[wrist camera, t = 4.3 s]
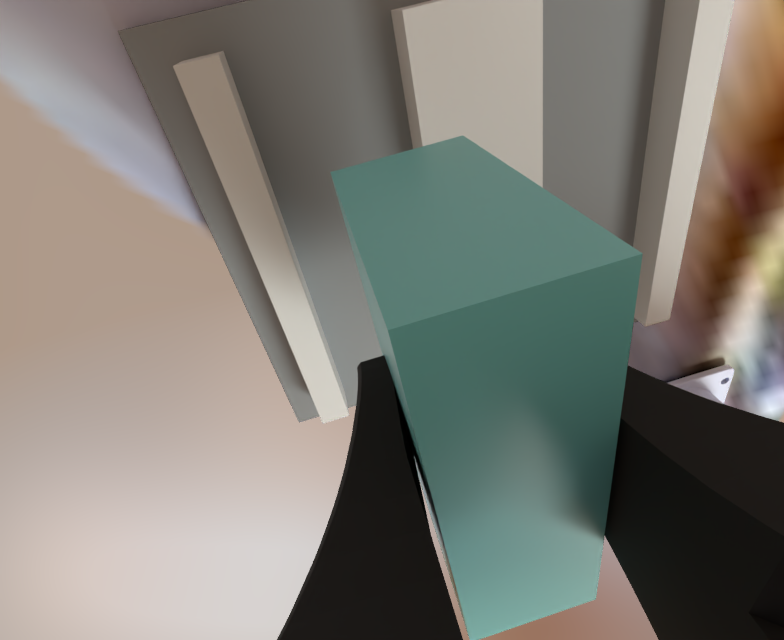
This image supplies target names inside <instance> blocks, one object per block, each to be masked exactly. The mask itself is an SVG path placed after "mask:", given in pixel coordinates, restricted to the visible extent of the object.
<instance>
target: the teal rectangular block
mask: <svg viewBox="0 0 784 640" xmlns="http://www.w3.org/2000/svg"><path fill="white" fill-rule="evenodd" d="M330 173H331V176H332V180H333V183H334V187H335V190H336V194H337V197H338V201H339V204H340V208H341V211H342V215H343V218H344V222H345V225H346V229H347V232H348V236H349V239H350V243H351V246H352V250H353V253H354V257H355V260H356V264H357V267H358V271H359V274H360V278H361V281H362V285H363V288H364V292H365V295H366V299H367V302H368V306H369V309H370V313H371V316H372V320H373V323H374V327H375V330H376V334H377V337H378V341H379V344H380V348H381V351H382V355H384V356H385V359H386V361H387V364H388V367H389V370H390V373H391V376H392V379H393V382H394V386H395V390H396V393H397V397H398V400H399V404H400V407H401V411H402V415H403V418H404V422H405V425H406V429H407V432H408V436H409V440H410V443H411V447H412V450H413V454H414V458H415V463H416V467H417V472H418V477H419V480H420V483H421V487H422V490H423V493H424V496H425V499H426V502H427V505H428V509H429V512H430V515H431V518H432V522H433V525H434V528H435V531H436V534H437V537H438V541H439V544H440V547H441V550H442V553H443V556H444V559H445V563H446V566H447V569H448V572H449V575H450V579H451V582H452V585H453V588H454V591H455V595H456V598H457V601H458V604H459V607H460V610H461V614H462V617H463V619H464V623H465V626H466V629H467V632H468V636H469V639H470V640H479V639H482V638H485V637H488V636H491V635H493V634H497V633H500V632H502V631H505V630H508V629H511V628H514V627H517V626H520V625H523V624H526V623H528V622H531V621H534V620H537V619H540V618H543V617H546V616H549V615H552V614H554V613H557V612H560V611H563V610H566V609H569V608H572V607H575V606H577V605H581V604H584V603H586V602H589V601H592V600H595V599H596V594H597V586H598V579H599V572H600V565H601V557H602V550H603V543H604V535H605V528H606V521H607V513H608V506H609V499H610V491H611V484H612V476H613V469H614V462H615V454H616V447H617V440H618V432H619V425H620V418H621V410H622V403H623V395H624V388H625V381H626V373H627V366H628V359H629V351H630V344H631V337H632V329H633V322H634V314H635V307H636V300H637V292H638V285H639V278H640V270H641V263H642V256H643V253H641V252H640V251H638V250H637V249H635V248H633V247H632V246H630V245H629V244H627V243H626V242H624V241H623V240H621V239H620V238H618V237H617V236H615V235H614V234H612V233H611V232H609V231H608V230H606V229H605V228H603V227H602V226H600V225H599V224H597V223H595V222H594V221H592V220H591V219H589V218H588V217H586V216H585V215H583V214H582V213H580V212H579V211H577V210H576V209H574V208H573V207H571V206H570V205H568V204H567V203H565V202H564V201H562V200H561V199H559V198H557V197H556V196H554V195H553V194H551V193H550V192H548V191H547V190H545V189H544V188H542V187H541V186H539V185H538V184H536V183H535V182H533V181H532V180H530V179H529V178H527V177H526V176H524V175H522V174H521V173H519V172H518V171H516V170H515V169H513V168H512V167H510V166H509V165H507V164H506V163H504V162H503V161H501V160H500V159H498V158H497V157H495V156H494V155H492V154H491V153H489V152H488V151H486V150H484V149H483V148H481V147H480V146H478V145H477V144H475V143H474V142H472V141H471V140H469V139H468V138H466V137H465V136H463V135H462V136H459V137H455V138H451V139H448V140H444V141H440V142H437V143H433V144H430V145H426V146H422V147H419V148H415V149H412V150H408V151H404V152H401V153H397V154H394V155H390V156H386V157H383V158H379V159H376V160H372V161H368V162H365V163H361V164H358V165H354V166H350V167H347V168H343V169H340V170H336V171H332V172H330Z"/></svg>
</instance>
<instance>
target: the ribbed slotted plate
mask: <svg viewBox="0 0 784 640" xmlns="http://www.w3.org/2000/svg"><path fill="white" fill-rule="evenodd" d="M734 1H735V0H247V1H243V2H239V3H235V4H230V5H226V6H222V7H218V8H213V9H209V10H205V11H201V12H197V13H192V14H188V15H184V16H180V17H176V18H171V19H167V20H163V21H159V22H154V23H150V24H146V25H142V26H138V27H133V28H129V29H125V30H121V31H118V33H119V35H120V37H121V39H122V41H123V44H124V46H125V48H126V50H127V52H128V54H129V57H130V59H131V61H132V63H133V65H134V67H135V69H136V72H137V74H138V76H139V78H140V80H141V82H142V85H143V87H144V89H145V91H146V93H147V95H148V98H149V100H150V102H151V104H152V106H153V108H154V110H155V113H156V115H157V117H158V119H159V121H160V123H161V126H162V128H163V130H164V132H165V134H166V136H167V138H168V141H169V143H170V145H171V147H172V149H173V151H174V154H175V156H176V158H177V160H178V162H179V164H180V167H181V169H182V171H183V173H184V175H185V177H186V179H187V182H188V184H189V186H190V188H191V190H192V192H193V195H194V197H195V199H196V201H197V203H198V205H199V208H200V210H201V212H202V214H203V216H204V218H205V220H206V223H207V225H208V227H209V229H210V231H211V233H212V236H213V238H214V240H215V242H216V244H217V246H218V248H219V250H220V253H221V255H222V257H223V259H224V261H225V264H226V266H227V268H228V270H229V272H230V274H231V277H232V279H233V281H234V283H235V285H236V287H237V289H238V292H239V294H240V296H241V298H242V300H243V302H244V305H245V307H246V309H247V311H248V313H249V315H250V318H251V319H252V322H253V324H254V326H255V328H256V330H257V332H258V335H259V337H260V339H261V341H262V343H263V345H264V348H265V350H266V352H267V354H268V356H269V359H270V361H271V363H272V365H273V367H274V369H275V371H276V374H277V376H278V378H279V380H280V382H281V384H282V387H283V389H284V391H285V393H286V395H287V397H288V400H289V402H290V404H291V406H292V408H293V410H294V412H295V414H296V417H297V419H298V421H299V422H302V421H305V420H309V419H312V418H316V417H319V416H320V418H321V421H322V423H326V422H330V421H333V420H336V419H339V418H343V417H346V416H349V412H348V408H349V407H352V406H356V403H357V391H358V372H357V367H358V365H359V364H360V362H363V361H367V360H370V359H373V358H376V357H380V356H383V355H382V351H381V348H380V344H379V341H378V337H377V334H376V330H375V327H374V323H373V320H372V316H371V313H370V309H369V306H368V302H367V299H366V295H365V292H364V288H363V285H362V281H361V278H360V274H359V271H358V267H357V264H356V260H355V257H354V253H353V250H352V246H351V243H350V239H349V236H348V232H347V229H346V225H345V222H344V218H343V215H342V211H341V208H340V204H339V201H338V197H337V194H336V190H335V187H334V183H333V180H332V176H331V173H330V172H332V171H336V170H340V169H343V168H347V167H350V166H354V165H358V164H361V163H365V162H368V161H372V160H376V159H379V158H383V157H386V156H390V155H394V154H397V153H401V152H404V151H408V150H412V149H415V148H419V147H422V146H426V145H430V144H433V143H437V142H440V141H444V140H448V139H451V138H455V137H459V136H462V135H463V136H465V137H466V138H468V139H469V140H471V141H472V142H474V143H475V144H477V145H478V146H480V147H481V148H483V149H484V150H486V151H488V152H489V153H491V154H492V155H494V156H495V157H497V158H498V159H500V160H501V161H503V162H504V163H506V164H507V165H509V166H510V167H512V168H513V169H515V170H516V171H518V172H519V173H521V174H522V175H524V176H526V177H527V178H529V179H530V180H532V181H533V182H535V183H536V184H538V185H539V186H541V187H542V188H544V189H545V190H547V191H548V192H550V193H551V194H553V195H554V196H556V197H557V198H559V199H561V200H562V201H564V202H565V203H567V204H568V205H570V206H571V207H573V208H574V209H576V210H577V211H579V212H580V213H582V214H583V215H585V216H586V217H588V218H589V219H591V220H592V221H594V222H595V223H597V224H599V225H600V226H602V227H603V228H605V229H606V230H608V231H609V232H611V233H612V234H614V235H615V236H617V237H618V238H620V239H621V240H623V241H624V242H626V243H627V244H629V245H630V246H632V247H633V248H635V249H637V250H638V251H640V252H641V253H643V256H642V263H641V270H640V278H639V285H638V292H637V300H636V307H635V314H634V322H637V321H639V322H640V323H641V324H642V325H644V326H645V327H647V326H650V325H653V324H657V323H660V322H664V321H667V320H670V315H671V310H672V305H673V300H674V295H675V290H676V285H677V280H678V275H679V271H680V266H681V261H682V256H683V251H684V246H685V241H686V236H687V231H688V226H689V222H690V217H691V212H692V207H693V202H694V197H695V192H696V187H697V182H698V177H699V173H700V168H701V163H702V158H703V153H704V148H705V143H706V138H707V133H708V128H709V124H710V119H711V114H712V109H713V104H714V99H715V94H716V89H717V84H718V79H719V75H720V70H721V65H722V60H723V55H724V50H725V45H726V40H727V35H728V30H729V25H730V21H731V16H732V11H733V6H734ZM634 322H633V323H634Z"/></svg>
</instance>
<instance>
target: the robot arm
mask: <svg viewBox="0 0 784 640" xmlns="http://www.w3.org/2000/svg"><path fill="white" fill-rule="evenodd" d="M357 372H358V391H357V403H356V411H355V418H354V425H353V431H352V437H351V442H350V446H349V451H348V455H347V460H346V464H345V469H344V473H343V476H342V480H341V484H340V487H339V491H338V494H337V497H336V500H335V504H334V507H333V510H332V513H331V516H330V519H329V521H328V524H327V527H326V530H325V533H324V535H323V538H322V541H321V544H320V546H319V549H318V551H317V554H316V556H315V559H314V561H313V564H312V566H311V568H310V571H309V573H308V575H307V577H306V580H305V582H304V584H303V586H302V589H301V591H300V594H299V595H298V598H297V600H296V602H295V604H294V607H293V609H292V611H291V613H290V615H289V617H288V619H287V621H286V623H285V625H284V627H283V629H282V631H281V633H280V635H279V637H278V639H277V640H463V639H462V635H461V632H460V629H459V625H458V622H457V619H456V615H455V613H454V609H453V606H452V603H451V599H450V596H449V593H448V589H447V586H446V583H445V580H444V576H443V573H442V570H441V567H440V563H439V561H438V557H437V554H436V550H435V547H434V544H433V541H432V537H431V533H430V529H429V524H428V519H427V515H426V510H425V505H424V500H423V496H422V491H421V486H420V482H419V477H418V472H417V467H416V463H415V458H414V454H413V450H412V447H411V443H410V440H409V436H408V432H407V429H406V425H405V422H404V418H403V415H402V411H401V407H400V404H399V400H398V397H397V393H396V390H395V386H394V382H393V379H392V376H391V373H390V370H389V367H388V364H387V361H386V359H385V356H384V355H383V356H380V357H376V358H373V359H370V360H367V361H363V362H360V364H359V365H358V367H357ZM733 374H734V369H733V368H732V367H731V366H729V365H722V366H719V367H716V368H713V369H709V370H706V371H703V372H700V373H696V374H693V375H690V376H687V377H684V378H680V379H677V380H674V381H671V382H667V383H665V382H663V381H661V380H658V379H656V378H654V377H651V376H649V375H647V374H645V373H643V372H640V371H638V370H636V369H634V368H632V367H630V366H627V373H626V381H625V388H624V395H623V403H622V410H621V418H620V425H619V432H618V440H617V447H616V454H615V462H614V469H613V476H612V484H611V491H610V499H609V506H608V513H607V521H606V528H605V537H606V539H607V540H608V542H609V544H610V546H611V548H612V549H613V552H614V553H615V555H616V557H617V559H618V561H619V563H620V565H621V567H622V569H623V570H624V572H625V574H626V576H627V578H628V580H629V582H630V584H631V586H632V588H633V589H634V591H635V593H636V595H637V597H638V599H639V601H640V603H641V605H642V607H643V609H644V611H645V613H646V615H647V617H648V619H649V621H650V623H651V625H652V627H653V629H654V631H655V633H656V635H657V637H658V639H659V640H784V423H783V422H779V421H776V420H772V419H769V418H765V417H762V416H758V415H755V414H752V413H749V412H746V411H743V410H740V409H737V408H733V407H730V406H727V405H725V404H724V401H725V398H726V395H727V392H728V389H729V386H730V383H731V380H732V377H733Z"/></svg>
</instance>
